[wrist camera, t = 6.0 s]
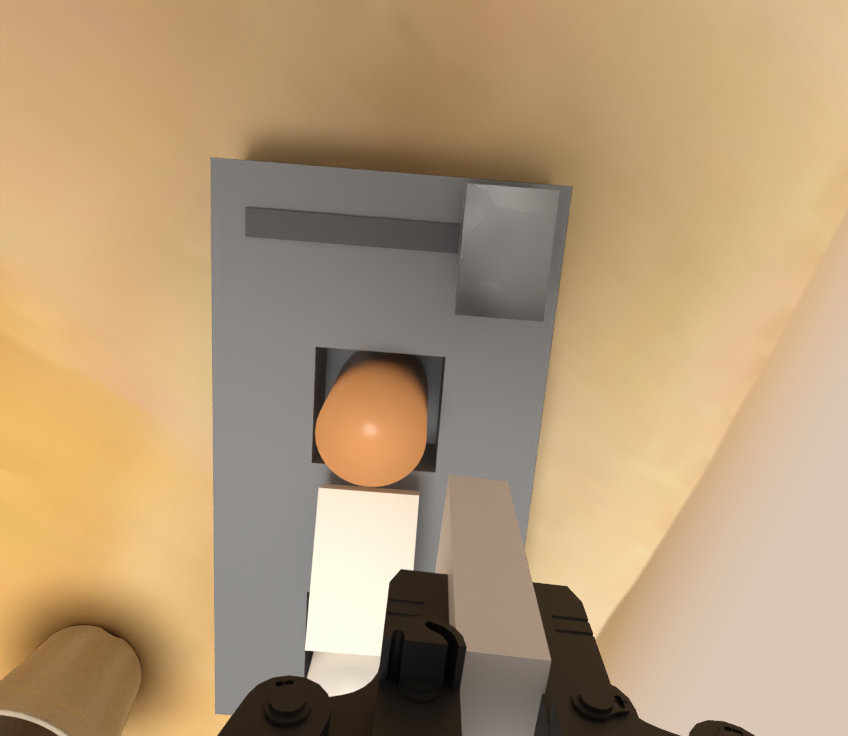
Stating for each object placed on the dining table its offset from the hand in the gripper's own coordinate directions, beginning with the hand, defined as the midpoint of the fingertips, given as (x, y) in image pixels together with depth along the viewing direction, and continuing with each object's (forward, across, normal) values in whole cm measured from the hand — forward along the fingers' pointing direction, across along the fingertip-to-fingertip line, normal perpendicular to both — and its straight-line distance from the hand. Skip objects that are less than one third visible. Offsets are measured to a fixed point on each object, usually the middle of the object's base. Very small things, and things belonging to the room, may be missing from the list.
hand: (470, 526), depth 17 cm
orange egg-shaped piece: (+17, -3, -2) cm, 17 cm away
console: (+19, -3, -6) cm, 20 cm away
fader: (+13, +1, +6) cm, 14 cm away
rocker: (+11, -3, -8) cm, 14 cm away
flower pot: (+19, -19, -22) cm, 35 cm away
